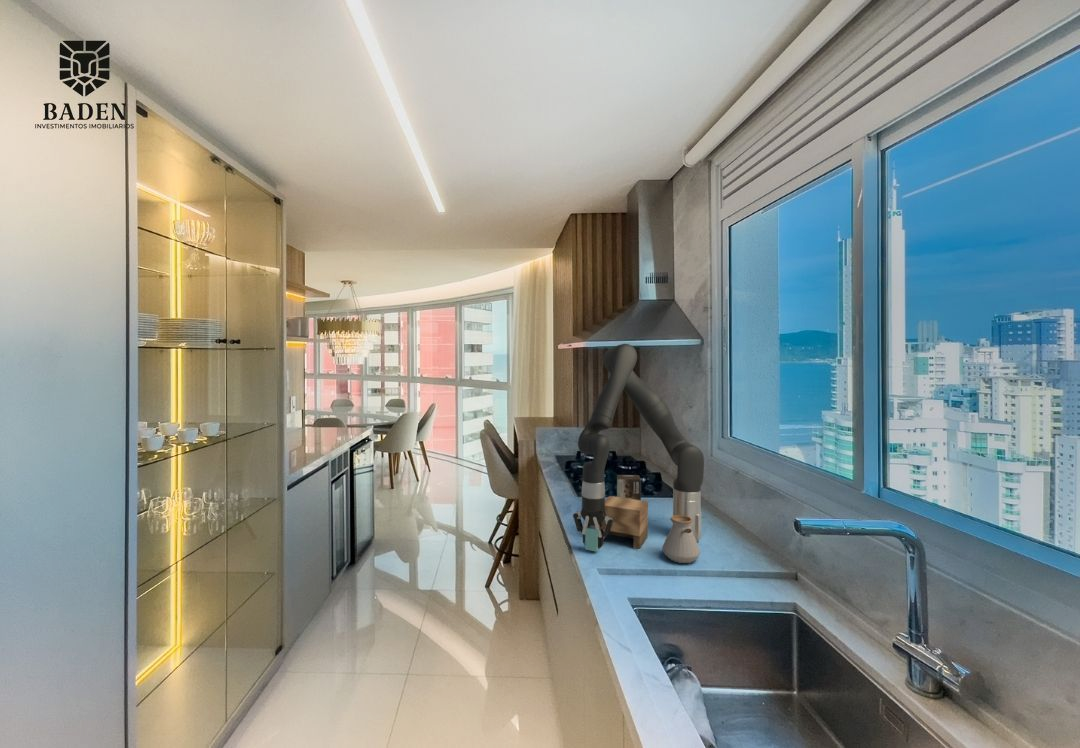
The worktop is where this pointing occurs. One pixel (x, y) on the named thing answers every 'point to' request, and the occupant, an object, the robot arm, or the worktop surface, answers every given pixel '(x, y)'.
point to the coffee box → (629, 486)
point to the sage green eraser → (591, 538)
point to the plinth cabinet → (628, 518)
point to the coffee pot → (681, 541)
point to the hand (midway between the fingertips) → (592, 545)
